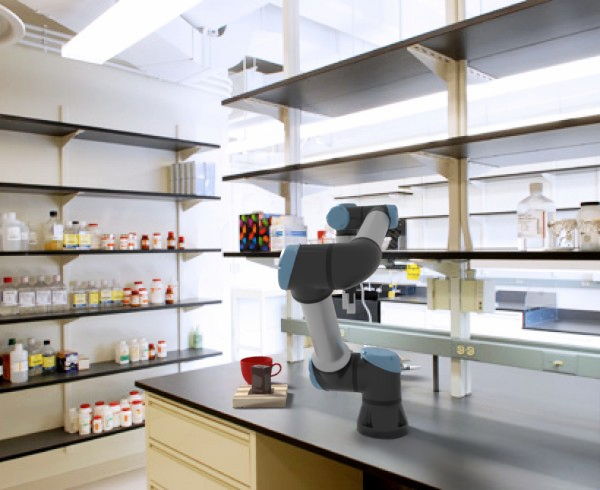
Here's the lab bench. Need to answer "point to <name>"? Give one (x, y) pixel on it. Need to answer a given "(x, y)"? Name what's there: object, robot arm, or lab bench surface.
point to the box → (261, 380)
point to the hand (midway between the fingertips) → (348, 311)
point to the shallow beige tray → (260, 397)
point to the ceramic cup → (252, 361)
